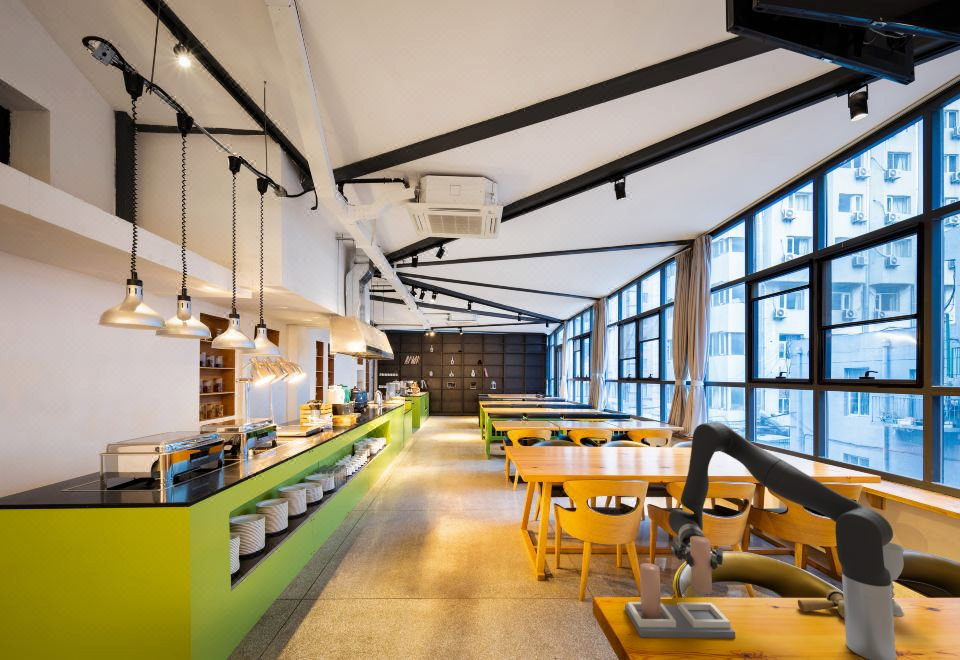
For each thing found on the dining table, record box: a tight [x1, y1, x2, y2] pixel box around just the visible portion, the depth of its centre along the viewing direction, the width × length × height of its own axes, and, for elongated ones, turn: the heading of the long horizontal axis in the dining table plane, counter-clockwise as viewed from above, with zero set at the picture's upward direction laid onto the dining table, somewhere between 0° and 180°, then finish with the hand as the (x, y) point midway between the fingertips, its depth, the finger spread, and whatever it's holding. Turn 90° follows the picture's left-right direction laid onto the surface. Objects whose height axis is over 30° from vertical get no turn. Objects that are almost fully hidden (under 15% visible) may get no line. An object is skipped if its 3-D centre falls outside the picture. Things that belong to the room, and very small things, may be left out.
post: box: [690, 536, 713, 595], centre depth 123 cm, size 5×5×13 cm
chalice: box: [883, 542, 906, 617], centre depth 129 cm, size 7×7×18 cm
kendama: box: [797, 589, 845, 619], centre depth 127 cm, size 8×6×18 cm
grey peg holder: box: [624, 562, 736, 639], centre depth 122 cm, size 24×13×14 cm, turn 90°
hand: (702, 564), depth 120 cm, fingers closed on post, 5 cm apart
